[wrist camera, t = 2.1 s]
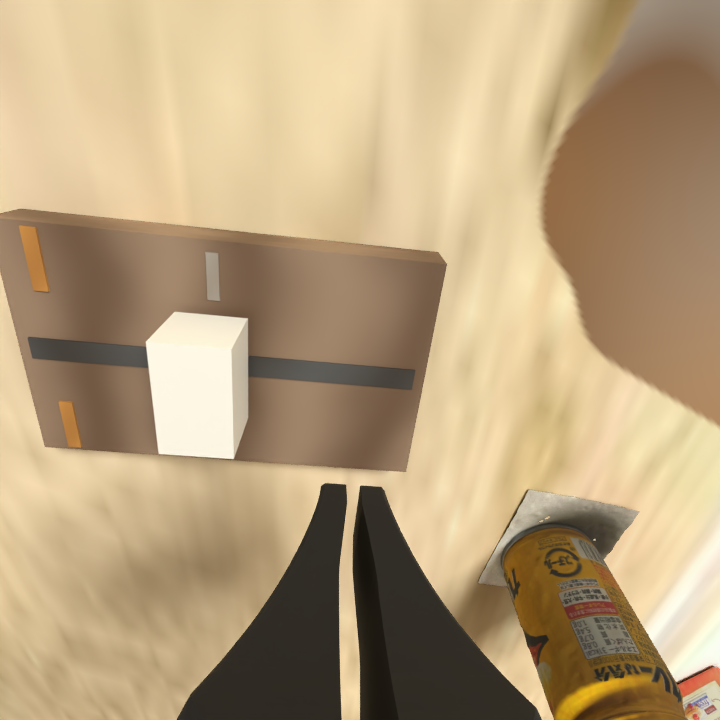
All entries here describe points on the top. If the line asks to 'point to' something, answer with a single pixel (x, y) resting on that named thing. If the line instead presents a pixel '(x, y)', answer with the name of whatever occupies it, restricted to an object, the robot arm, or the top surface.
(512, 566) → the condiment
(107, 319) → the fader board
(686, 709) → the cracker box
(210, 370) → the fader tab
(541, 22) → the top surface
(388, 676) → the robot arm
